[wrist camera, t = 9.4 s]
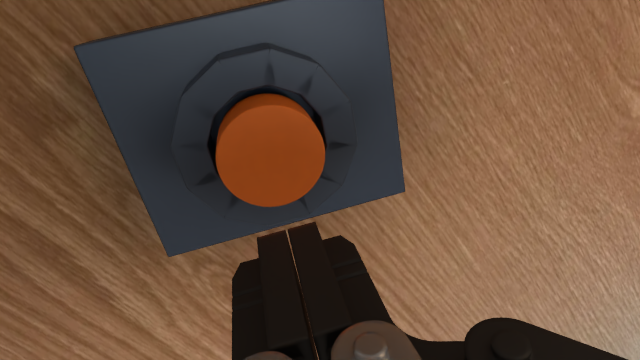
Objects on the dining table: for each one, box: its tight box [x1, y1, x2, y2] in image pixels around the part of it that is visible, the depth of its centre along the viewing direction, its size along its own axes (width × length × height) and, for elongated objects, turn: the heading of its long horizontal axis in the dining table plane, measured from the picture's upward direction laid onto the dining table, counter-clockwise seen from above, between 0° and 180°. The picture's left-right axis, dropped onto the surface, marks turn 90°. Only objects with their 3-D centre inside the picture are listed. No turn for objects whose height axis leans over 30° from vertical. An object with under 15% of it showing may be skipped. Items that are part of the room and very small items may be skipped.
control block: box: [74, 0, 405, 257], centre depth 16 cm, size 11×9×4 cm
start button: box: [216, 93, 325, 207], centre depth 14 cm, size 4×4×2 cm
